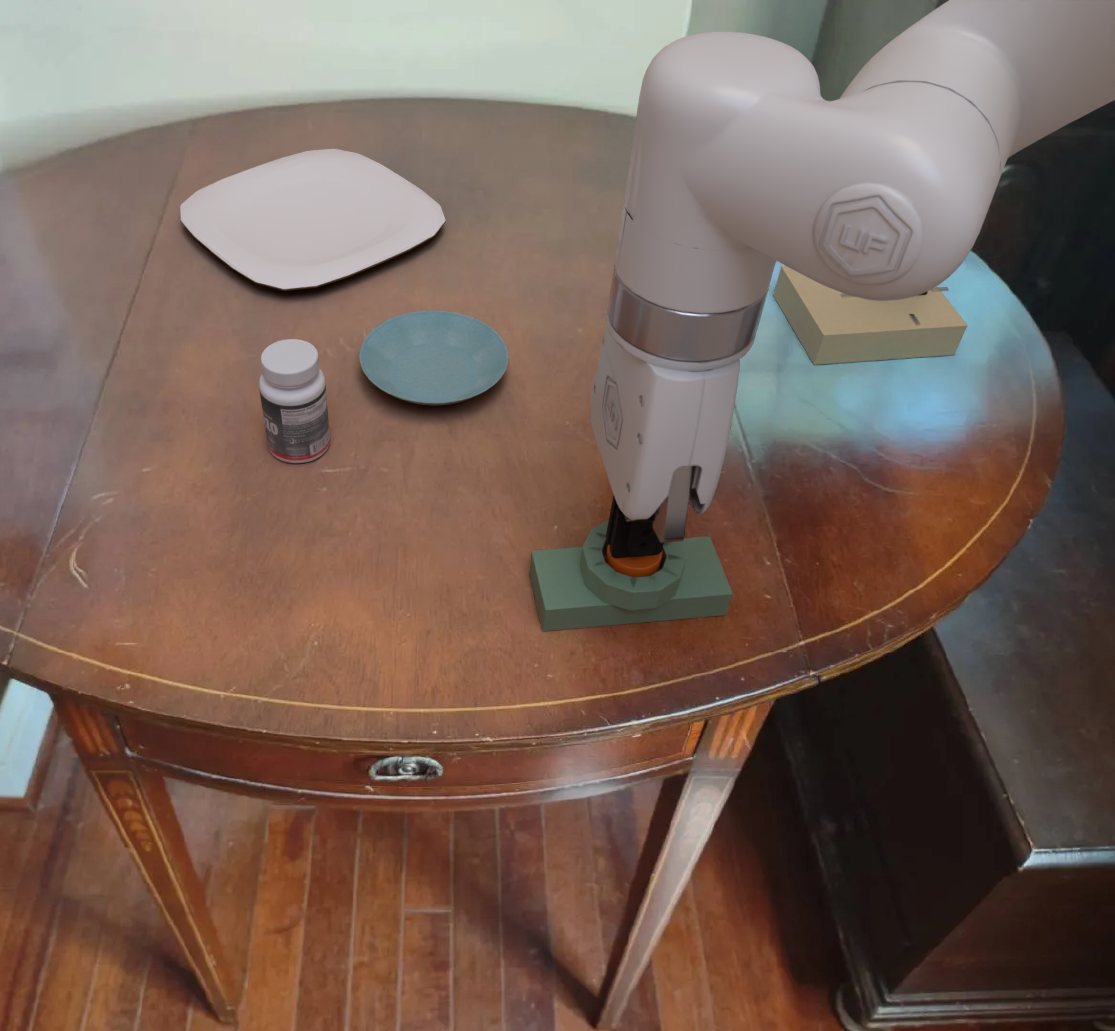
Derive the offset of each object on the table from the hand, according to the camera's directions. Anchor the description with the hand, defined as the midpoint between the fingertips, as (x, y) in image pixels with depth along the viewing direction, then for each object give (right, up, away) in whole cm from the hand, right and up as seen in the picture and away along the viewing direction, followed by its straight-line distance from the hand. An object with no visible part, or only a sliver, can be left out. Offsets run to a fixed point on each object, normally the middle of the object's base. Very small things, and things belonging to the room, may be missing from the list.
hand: (633, 547), depth 66 cm
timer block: (0, -3, +3) cm, 5 cm away
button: (0, -1, +1) cm, 2 cm away
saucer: (-12, +13, +19) cm, 26 cm away
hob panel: (+24, +18, +24) cm, 38 cm away
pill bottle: (-23, +7, +14) cm, 27 cm away
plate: (-24, +30, +35) cm, 52 cm away
